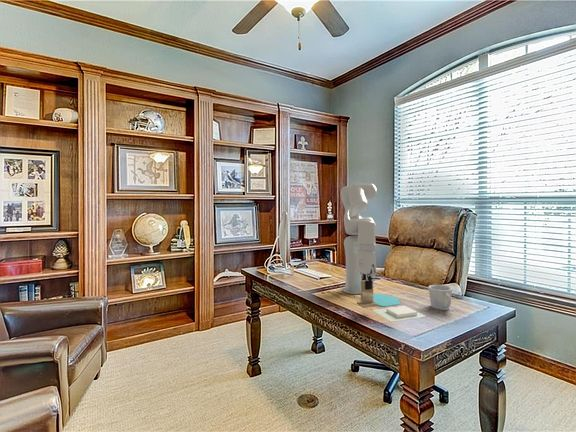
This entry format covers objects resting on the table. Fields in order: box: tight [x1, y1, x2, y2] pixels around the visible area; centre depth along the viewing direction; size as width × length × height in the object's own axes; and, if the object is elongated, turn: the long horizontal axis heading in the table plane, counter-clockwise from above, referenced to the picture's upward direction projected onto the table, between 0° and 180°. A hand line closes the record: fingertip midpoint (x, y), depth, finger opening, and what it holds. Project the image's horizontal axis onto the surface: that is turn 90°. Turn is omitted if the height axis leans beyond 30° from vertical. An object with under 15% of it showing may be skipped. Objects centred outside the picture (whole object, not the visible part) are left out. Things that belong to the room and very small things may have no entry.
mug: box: [428, 284, 453, 311], centre depth 152 cm, size 10×15×10 cm
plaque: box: [373, 292, 401, 308], centre depth 166 cm, size 18×2×20 cm
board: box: [372, 307, 427, 322], centre depth 147 cm, size 15×18×1 cm
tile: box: [385, 305, 418, 318], centre depth 147 cm, size 2×10×9 cm
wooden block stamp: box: [356, 279, 378, 309], centre depth 146 cm, size 6×7×11 cm
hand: (366, 288), depth 146 cm, fingers closed on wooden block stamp
